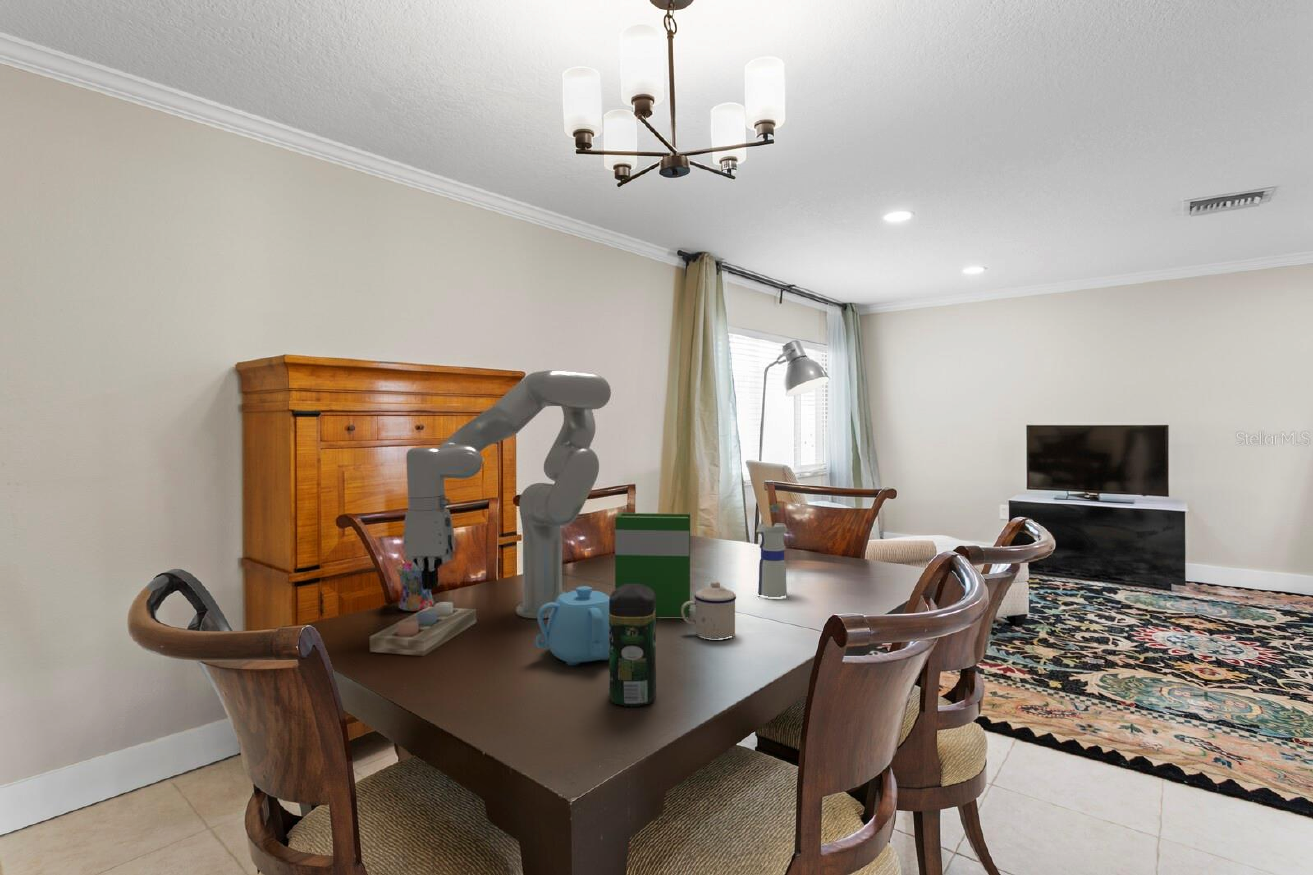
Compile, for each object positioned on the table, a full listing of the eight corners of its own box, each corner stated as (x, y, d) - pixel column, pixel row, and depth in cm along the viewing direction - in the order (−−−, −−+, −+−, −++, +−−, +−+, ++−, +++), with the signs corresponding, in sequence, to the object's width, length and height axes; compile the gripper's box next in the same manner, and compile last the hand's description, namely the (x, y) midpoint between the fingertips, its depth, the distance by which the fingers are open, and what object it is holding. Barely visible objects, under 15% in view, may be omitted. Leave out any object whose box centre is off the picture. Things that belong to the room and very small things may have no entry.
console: (476, 622, 147) (476, 609, 147) (423, 655, 125) (423, 640, 125) (429, 619, 149) (429, 606, 149) (369, 651, 128) (369, 636, 128)
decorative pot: (525, 661, 123) (525, 591, 123) (574, 636, 137) (574, 574, 137) (594, 677, 115) (594, 603, 115) (639, 649, 129) (638, 583, 129)
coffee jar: (612, 684, 112) (612, 579, 112) (657, 685, 112) (657, 580, 111) (605, 708, 102) (605, 594, 102) (654, 709, 102) (654, 595, 102)
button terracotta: (422, 638, 132) (422, 620, 132) (411, 644, 128) (411, 626, 128) (405, 637, 133) (404, 619, 133) (393, 643, 129) (393, 625, 129)
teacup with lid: (734, 628, 143) (734, 577, 142) (737, 642, 134) (737, 587, 133) (681, 627, 143) (681, 576, 143) (680, 641, 134) (681, 586, 134)
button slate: (440, 627, 139) (440, 611, 139) (430, 633, 135) (430, 616, 135) (423, 626, 140) (423, 610, 140) (413, 632, 136) (413, 615, 136)
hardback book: (690, 610, 157) (690, 513, 157) (689, 619, 150) (689, 518, 149) (619, 608, 159) (619, 513, 158) (615, 617, 151) (615, 517, 151)
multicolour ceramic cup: (420, 615, 153) (420, 571, 152) (388, 611, 155) (388, 568, 155) (450, 601, 164) (450, 561, 164) (419, 599, 167) (419, 559, 167)
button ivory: (456, 618, 146) (456, 602, 146) (447, 623, 142) (447, 607, 142) (440, 617, 147) (440, 601, 147) (431, 622, 143) (430, 606, 143)
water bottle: (751, 592, 174) (752, 501, 173) (782, 591, 175) (782, 501, 174) (760, 600, 166) (760, 505, 165) (791, 599, 167) (792, 505, 166)
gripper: (467, 501, 139) (470, 584, 140) (405, 501, 142) (409, 582, 143) (449, 507, 132) (453, 593, 133) (385, 506, 135) (389, 591, 136)
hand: (430, 587), depth 138 cm, fingers closed
